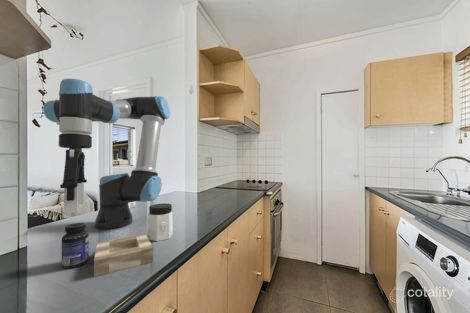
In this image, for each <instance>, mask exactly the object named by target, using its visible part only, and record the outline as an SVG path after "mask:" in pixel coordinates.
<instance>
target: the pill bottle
mask: <svg viewBox="0 0 470 313" xmlns="http://www.w3.org/2000/svg"><path fill="white" fill-rule="evenodd" d="M86 224H87V223H86V222H76V223H71V224H67V225H65V227H64V232H65V234H63V236H62V237H61V267H62V268H63V269H73V268H77V267H81V266H83V265H86V263H88V262H89V259H90V255H89V254H90V252H89V250H90V248H89V247H90V246H89V244H90V243H89V242H90V239H89V238H90V237H89V235H90V234H89V232H88V231H87V230H85V229H86V227H87V225H86Z"/></svg>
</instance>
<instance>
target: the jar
mask: <svg viewBox="0 0 470 313" xmlns="http://www.w3.org/2000/svg"><path fill="white" fill-rule="evenodd" d="M172 206H173V205H172V204H171V203H155V204H152V205H151V204H150V205H149V209H148V210H149V211H148V212H149V213H148V215H147V216H148V218H147V219H148V220H147V222H148V227H147V228H148V230H147V231H148V232H147V234H148V235H147V237H148V239H149V241H155V242H160V241H164V240H169V239H170V238H171V237H172V236H173V232H174V231H173V229H174V228H173V226H174V224H173V210H172V209H173V207H172Z"/></svg>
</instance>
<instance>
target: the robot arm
mask: <svg viewBox="0 0 470 313" xmlns="http://www.w3.org/2000/svg"><path fill="white" fill-rule="evenodd" d="M58 96H59V98H58V99H55V100H54V99H53V100H49V101H46V102H45V103H44V104H43V107H42V108H43V109H42V110H43V115H44V116H45V117H46V119H48V121H50V122H53V123H55V124H56V125H57V126H58V130H59V131H58V132H59V133H60V134H58V147H59V148H64V149H66V150H65V161H64V171H63V178H62V183H61V184H60V186H59V187H60V189H63V192H64V194H63V196H64V197H63V214H64V215H66V214H77V213H78V212H79V210H78V209H79V205H84V202H85V200H84V199H85V184H86V183H87V182H88V181H87V180H88V179H86V178H85V158H86V155H85V153H84V152H83V150H82V149H91V148H92V147H93V146H92V145H93V144H92V143H93V142H92V141H93V140H92V138H93V137H92V136H91V135H92V134H93V122H100V123H101V122H102V123H104V124H114V123H116V122H117V121H118V120H119V119H122V120H123V119H125V120H126V119H131V120H140V122H142V127H141V132H140V138H139V139H140V140H139V147H138V152H137V158H136V165H135V168H134V169H132V170H131V174H130V175H129V173H128V172H125V173H118V174H117V173H116V174H110V175H103V176H102V177H100V178H99V185H98V187H99V189H98V190H99V210H98V213H97V216H96V218H95V220H94V228H96V229H99V230H108V229H110V230H111V229H116V228H117V229H118V228H121V227H125V226H128V225H131V224H132V223H133V215H132V211H131V209H130V205H129V202H141V203H142V202H143V203H147V202H153V201H155V200H156V199H157V198H158V197H159V195H160V194H161V191H162V178H161V177H160V176H159V173H158V172H157V170H156V167H157V158H158V152H159V144H160V143H159V142H160V137H161V136H160V135H161V128H162V126H164V124H165V123H166V122H165V120H168V119H169V118H170V117H171V116H170V115H171V111H170V110H171V109H170V105H169V103H168V101H167V99H166V98H165V97H163V96H161V95H160V96H159V95H158V96H157V95H155V96H135V97H128V98H118V99H117V98H116V99H115V100H107V99H104V98H102V97H99V96H97V95H95V94H94V91H93V86H92V85H91V83H89V82H88V81H85V80H82V79H79V78H78V79H77V78H63V79H62V80H61V81H60V85H59V91H58Z"/></svg>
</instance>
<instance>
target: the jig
mask: <svg viewBox="0 0 470 313" xmlns="http://www.w3.org/2000/svg"><path fill="white" fill-rule="evenodd" d="M95 247H96V248H95V251H94V252H95V253H94V258H93V277H94V278H95V277H99V276H104V275H106V274H110V273H115V272H118V271H122V270H125V269H130V268H134V267H138V266H142V265H146V264H149V263H153V262H154V255H153V254H154V248H153V245H152V243H151V240H149V239H148V235H147V233H140V234H136V235H130V236H125V237H118V238H112V239H107V240H101V241H97V242H96V246H95Z"/></svg>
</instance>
